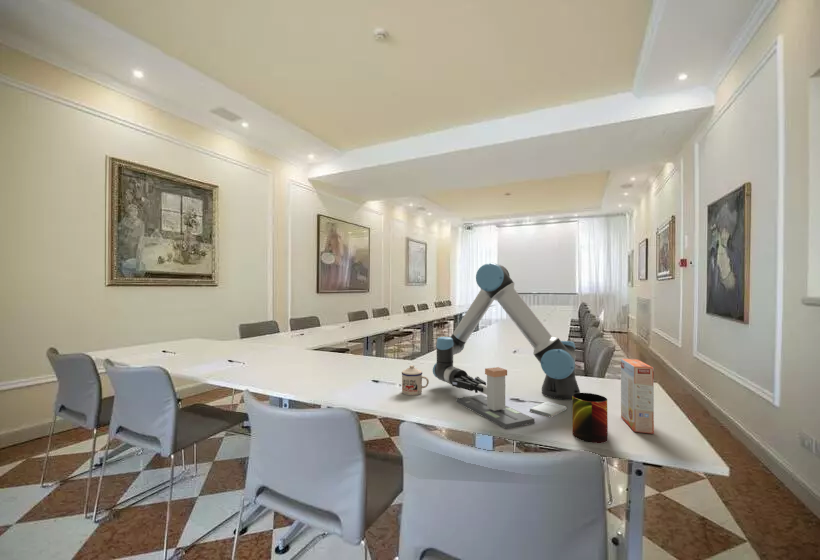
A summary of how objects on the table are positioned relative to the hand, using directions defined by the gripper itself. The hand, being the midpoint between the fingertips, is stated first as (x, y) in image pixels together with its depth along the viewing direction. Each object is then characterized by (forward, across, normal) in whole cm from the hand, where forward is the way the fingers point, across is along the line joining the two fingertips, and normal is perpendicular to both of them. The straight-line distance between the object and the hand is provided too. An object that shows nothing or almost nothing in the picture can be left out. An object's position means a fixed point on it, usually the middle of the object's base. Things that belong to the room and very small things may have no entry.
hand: (490, 391), depth 132 cm
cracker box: (+31, -36, -8) cm, 48 cm away
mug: (+29, -16, -8) cm, 34 cm away
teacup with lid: (-33, +15, -8) cm, 37 cm away
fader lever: (+2, -1, -5) cm, 6 cm away
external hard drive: (+7, -21, -8) cm, 24 cm away
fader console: (0, -1, -7) cm, 7 cm away
